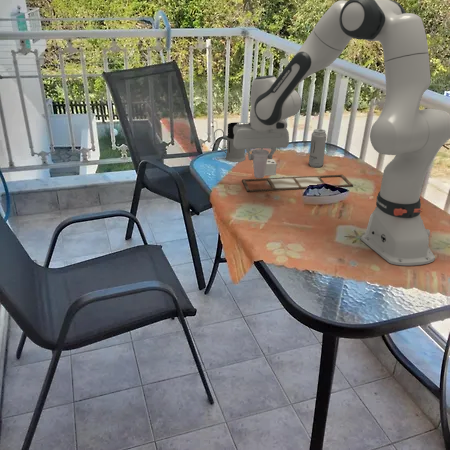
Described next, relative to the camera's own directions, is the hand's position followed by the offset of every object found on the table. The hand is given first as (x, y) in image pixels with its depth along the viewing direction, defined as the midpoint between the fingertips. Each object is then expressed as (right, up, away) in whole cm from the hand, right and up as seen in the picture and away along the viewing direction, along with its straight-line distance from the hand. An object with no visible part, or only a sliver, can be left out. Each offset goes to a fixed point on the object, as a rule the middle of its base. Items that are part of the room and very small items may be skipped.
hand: (260, 159), depth 173 cm
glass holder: (-11, +4, +30) cm, 33 cm away
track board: (+15, -8, +7) cm, 18 cm away
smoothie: (0, -6, +3) cm, 7 cm away
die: (+5, -3, +16) cm, 17 cm away
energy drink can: (+25, +1, +25) cm, 35 cm away
